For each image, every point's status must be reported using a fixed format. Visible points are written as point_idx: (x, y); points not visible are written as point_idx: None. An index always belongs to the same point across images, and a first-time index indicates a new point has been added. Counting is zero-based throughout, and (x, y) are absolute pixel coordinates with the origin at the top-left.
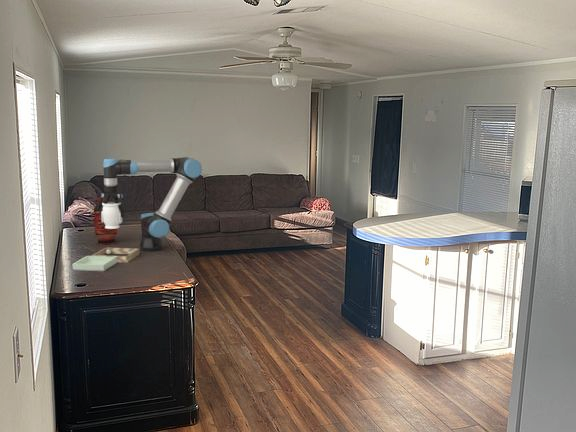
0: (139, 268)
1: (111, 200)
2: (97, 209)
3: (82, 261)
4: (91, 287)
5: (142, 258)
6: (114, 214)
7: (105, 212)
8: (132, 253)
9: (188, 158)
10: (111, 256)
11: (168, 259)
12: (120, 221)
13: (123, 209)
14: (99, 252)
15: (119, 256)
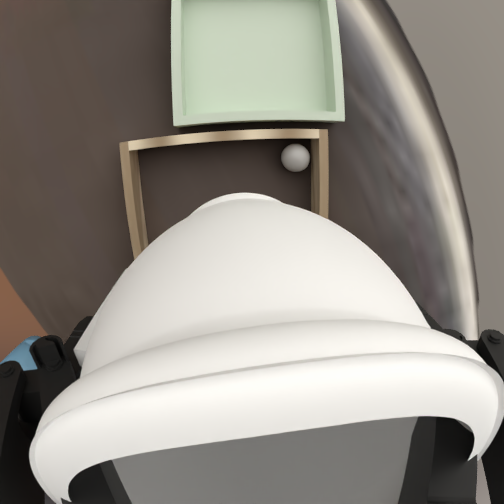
0: (46, 78)
1: None
2: (490, 333)
3: (328, 54)
4: None
5: (100, 231)
6: (134, 260)
7: (322, 228)
8: (127, 216)
9: None
10: (208, 132)
11: (10, 241)
12: (121, 276)
13: (8, 379)
14: (318, 210)
15: (162, 138)
